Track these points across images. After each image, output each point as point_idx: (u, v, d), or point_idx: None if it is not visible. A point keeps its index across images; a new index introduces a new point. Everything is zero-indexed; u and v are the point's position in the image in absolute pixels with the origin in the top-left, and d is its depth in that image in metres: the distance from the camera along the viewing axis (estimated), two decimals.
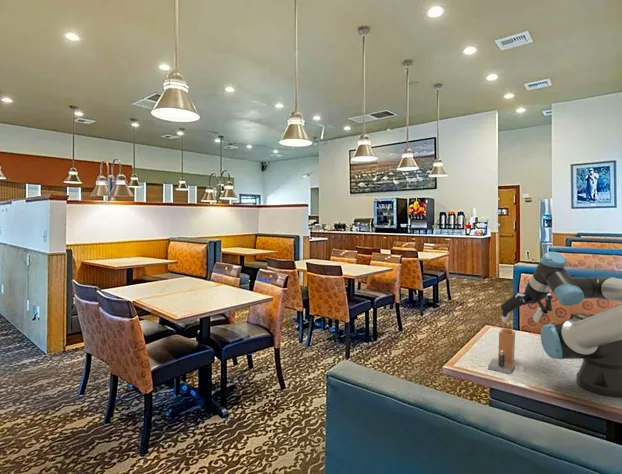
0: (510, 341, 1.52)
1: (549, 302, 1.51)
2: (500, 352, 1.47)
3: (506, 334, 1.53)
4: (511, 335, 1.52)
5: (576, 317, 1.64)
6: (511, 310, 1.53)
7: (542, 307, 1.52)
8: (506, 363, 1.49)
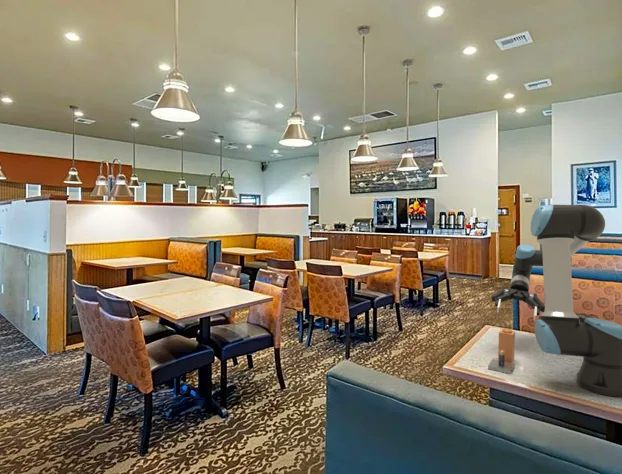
0: (510, 341, 1.52)
1: (537, 298, 1.62)
2: (500, 352, 1.47)
3: (506, 334, 1.53)
4: (511, 335, 1.51)
5: None
6: (500, 297, 1.65)
7: (532, 301, 1.61)
8: (506, 363, 1.49)
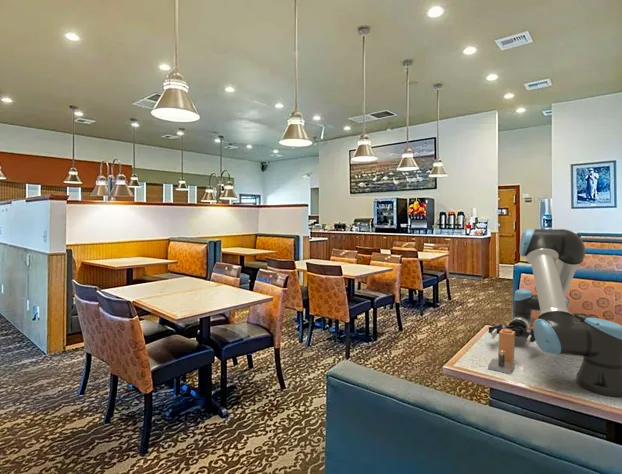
0: (510, 341, 1.52)
1: (533, 331, 1.67)
2: (500, 352, 1.47)
3: (506, 334, 1.53)
4: (511, 335, 1.52)
5: (576, 317, 1.64)
6: (497, 328, 1.72)
7: (528, 332, 1.66)
8: (506, 363, 1.49)
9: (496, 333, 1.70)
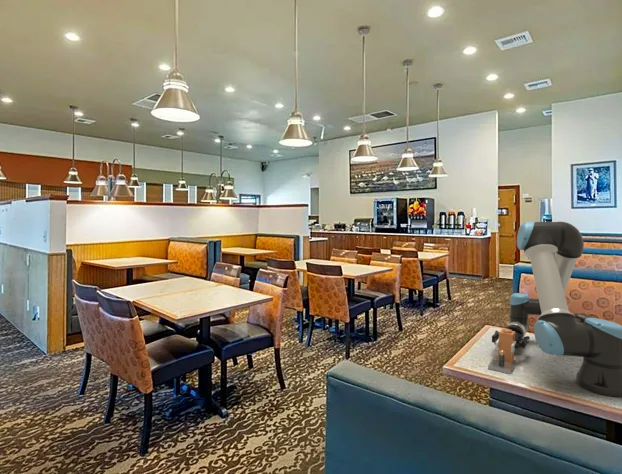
0: (510, 341, 1.52)
1: (525, 338, 1.58)
2: (500, 352, 1.47)
3: (506, 334, 1.53)
4: (511, 335, 1.52)
5: (576, 317, 1.64)
6: None
7: (516, 338, 1.57)
8: (506, 363, 1.49)
9: None
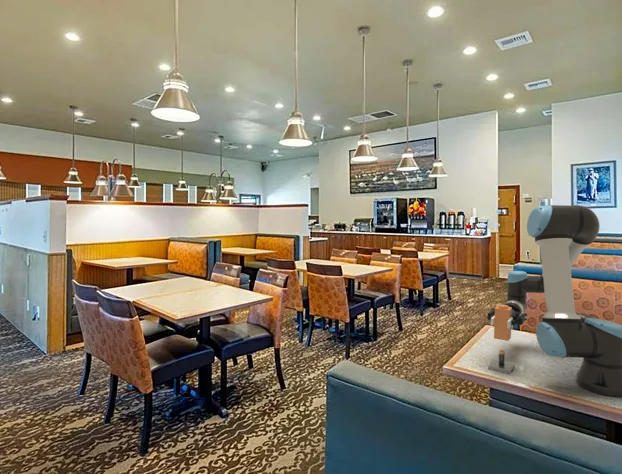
0: (506, 317, 1.44)
1: (522, 315, 1.50)
2: (500, 352, 1.47)
3: (502, 310, 1.45)
4: (507, 311, 1.44)
5: None
6: None
7: (513, 315, 1.49)
8: (506, 363, 1.49)
9: None
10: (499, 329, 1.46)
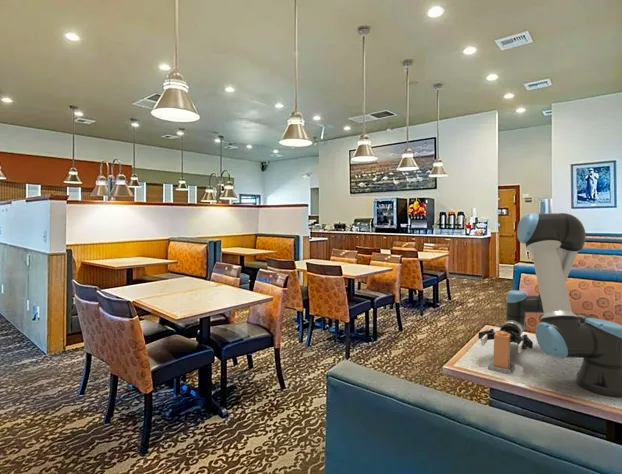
0: (506, 344, 1.44)
1: (526, 337, 1.50)
2: None
3: (502, 337, 1.45)
4: (507, 338, 1.44)
5: None
6: (487, 333, 1.55)
7: (520, 338, 1.49)
8: None
9: (487, 339, 1.53)
10: (498, 356, 1.46)
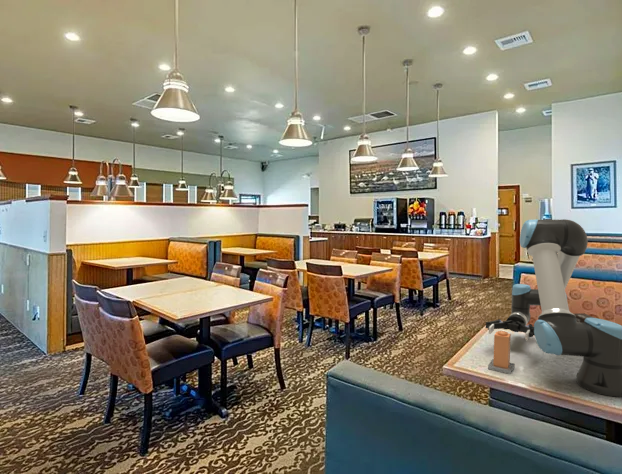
0: (506, 344, 1.44)
1: (531, 326, 1.61)
2: None
3: (502, 337, 1.45)
4: (507, 338, 1.44)
5: (576, 317, 1.64)
6: (494, 323, 1.66)
7: (526, 327, 1.60)
8: None
9: (493, 328, 1.64)
10: (498, 356, 1.46)
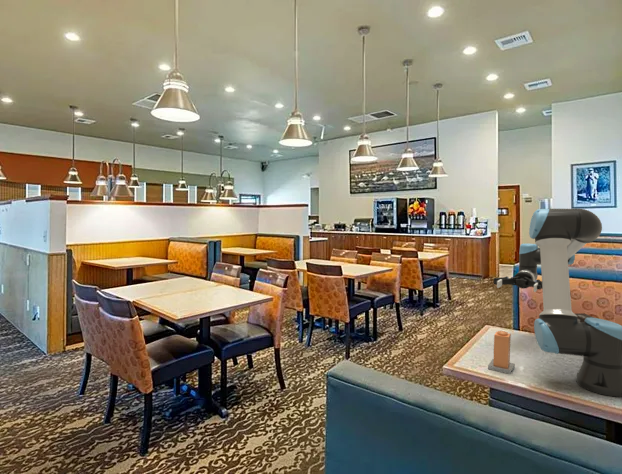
0: (506, 344, 1.44)
1: (539, 281, 1.63)
2: None
3: (502, 337, 1.45)
4: (507, 338, 1.44)
5: None
6: (502, 279, 1.67)
7: (534, 281, 1.61)
8: None
9: (501, 283, 1.66)
10: (498, 356, 1.46)
